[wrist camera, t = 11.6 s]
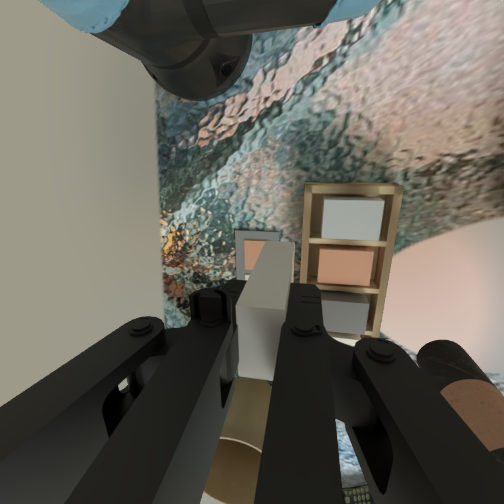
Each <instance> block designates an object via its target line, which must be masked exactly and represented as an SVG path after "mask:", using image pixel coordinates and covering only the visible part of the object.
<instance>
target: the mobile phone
mask: <svg viewBox="0 0 504 504" xmlns="http://www.w3.org/2000/svg"><path fill="white" fill-rule="evenodd" d="M342 493H343V503H344V504H375V503H374V500H373V498H372V495H371V492H370V490H369V487H368V485H365V486H359V487H352V488H345V489H342Z"/></svg>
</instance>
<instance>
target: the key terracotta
mask: <svg viewBox="0 0 504 504" xmlns="http://www.w3.org/2000/svg"><path fill="white" fill-rule="evenodd" d="M373 256H374V251H373V250H372V248H371V247H370V246H361V245H339V244H319V252H318V265H317V282H319V283H333V284H347V285H362V286H369V284H370V277H371V270H372V263H373Z"/></svg>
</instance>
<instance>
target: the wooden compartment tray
mask: <svg viewBox="0 0 504 504" xmlns="http://www.w3.org/2000/svg"><path fill="white" fill-rule="evenodd" d="M403 190H404V186H402V185H399V184H396V183H335V182H305V190H304V209H303V229H302V248H301V267H300V283H305V284H315V285H316V286H317V287H318V288H319V289H320V290H323V291H336V292H349V293H363V294H366V297H367V299H368V302H369V310H368V317H367V324H366V330H365V335H360V337H361V339H362V338H367V337H375V338H379V333H380V327H381V321H382V315H383V309H384V302H385V297H386V291H387V285H388V279H389V273H390V267H391V261H392V256H393V250H394V244H395V238H396V232H397V226H398V220H399V214H400V208H401V202H402V196H403ZM323 196H343V197H379V198H381V199H383V200H384V201H385V202H384V209H383V216H382V222H381V229H380V236H379V241H371V240H347V239H324V238H321V219H322V206H323ZM319 244H339V245H361V246H370V247H371V248H372V250H373V251H374V256H373V263H372V270H371V277H370V284H369V286H362V285H347V284H333V283H319V282H317V265H318V252H319Z"/></svg>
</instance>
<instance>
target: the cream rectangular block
mask: <svg viewBox="0 0 504 504" xmlns="http://www.w3.org/2000/svg"><path fill="white" fill-rule="evenodd" d="M327 333H328V334H329V335H330V336H331V337H332V338H334V339H335V340H337V341H339V342H342V343H344V344H347V345H351V346H355V343H356V342H357V341H359V340H360V339H361V337H360V334H350V333H340V332H330V331H327Z"/></svg>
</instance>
